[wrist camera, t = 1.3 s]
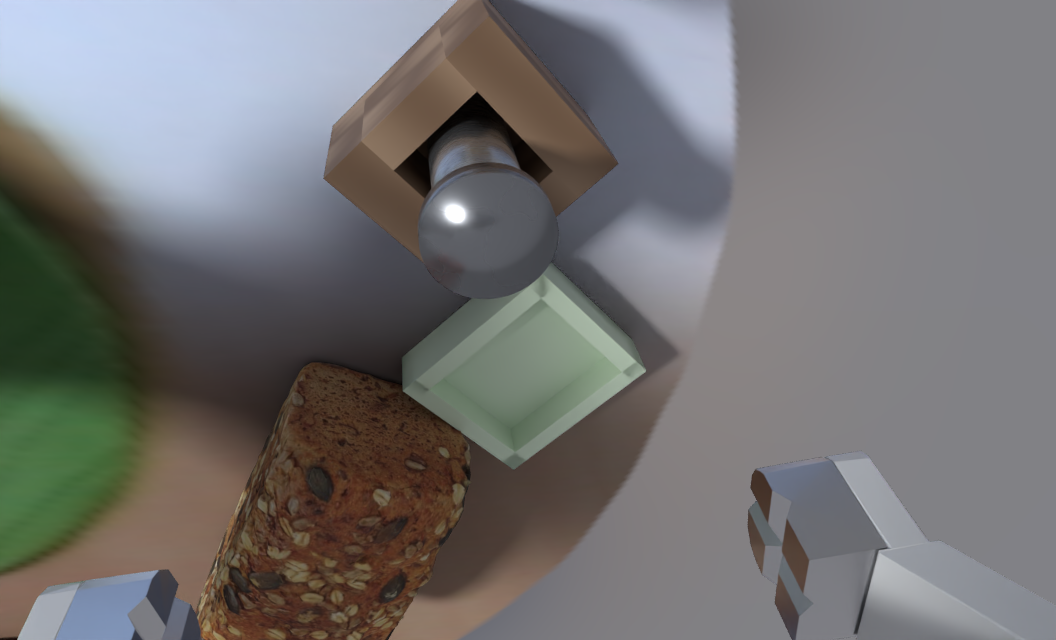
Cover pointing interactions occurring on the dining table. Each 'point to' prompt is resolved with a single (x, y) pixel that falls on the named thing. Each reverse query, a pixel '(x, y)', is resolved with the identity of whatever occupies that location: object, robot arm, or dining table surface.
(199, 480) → the dining table surface
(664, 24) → the dining table surface
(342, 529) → the bread
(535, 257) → the pin
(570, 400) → the tray
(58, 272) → the dining table surface
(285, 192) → the dining table surface
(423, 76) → the block
